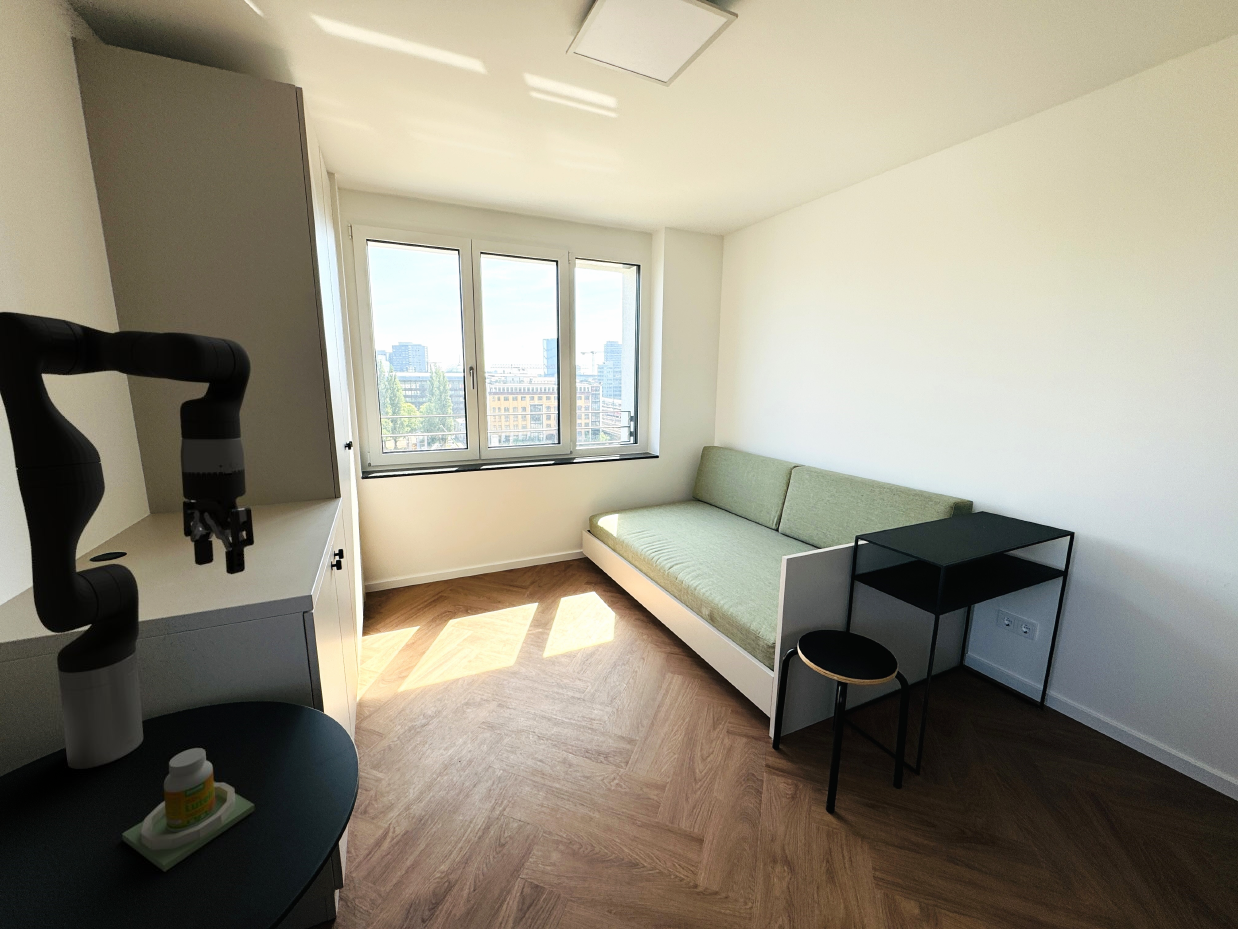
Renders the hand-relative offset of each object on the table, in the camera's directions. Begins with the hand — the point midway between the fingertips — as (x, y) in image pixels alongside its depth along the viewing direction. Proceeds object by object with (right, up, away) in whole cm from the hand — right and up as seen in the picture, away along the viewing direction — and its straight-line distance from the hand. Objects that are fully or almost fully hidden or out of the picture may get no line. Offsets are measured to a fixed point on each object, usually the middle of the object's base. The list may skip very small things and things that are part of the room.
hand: (219, 568), depth 76 cm
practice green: (0, -37, -5) cm, 37 cm away
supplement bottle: (0, -36, -5) cm, 37 cm away
